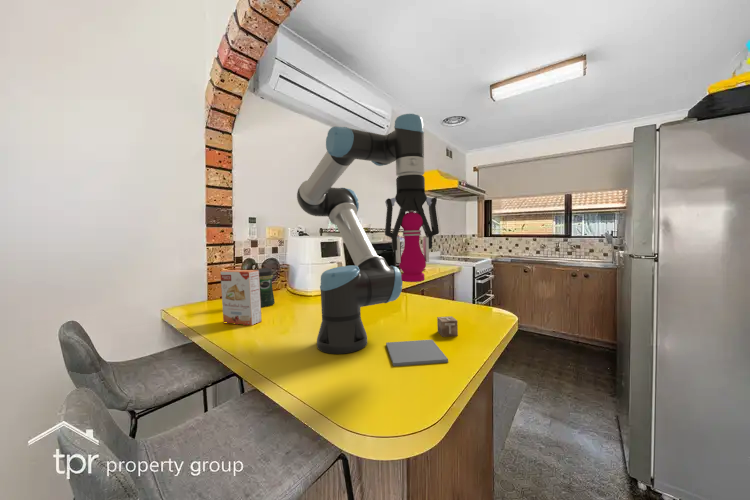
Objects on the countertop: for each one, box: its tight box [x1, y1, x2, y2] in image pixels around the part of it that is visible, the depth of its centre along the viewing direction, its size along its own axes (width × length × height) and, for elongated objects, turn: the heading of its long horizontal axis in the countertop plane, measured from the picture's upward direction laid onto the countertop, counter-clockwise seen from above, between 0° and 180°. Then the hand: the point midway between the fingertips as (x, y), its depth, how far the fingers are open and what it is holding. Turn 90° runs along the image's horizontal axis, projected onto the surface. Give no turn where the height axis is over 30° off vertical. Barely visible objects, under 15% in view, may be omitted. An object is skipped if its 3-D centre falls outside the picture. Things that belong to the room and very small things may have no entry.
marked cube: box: [436, 316, 459, 338], centre depth 93 cm, size 5×5×5 cm
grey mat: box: [385, 339, 449, 367], centre depth 79 cm, size 14×14×1 cm
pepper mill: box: [398, 210, 427, 283], centre depth 77 cm, size 7×7×20 cm
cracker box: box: [220, 269, 262, 326], centre depth 113 cm, size 14×6×21 cm, turn 71°
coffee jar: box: [254, 267, 275, 308], centre depth 142 cm, size 10×8×19 cm
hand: (412, 261), depth 78 cm, fingers closed on pepper mill, 7 cm apart
